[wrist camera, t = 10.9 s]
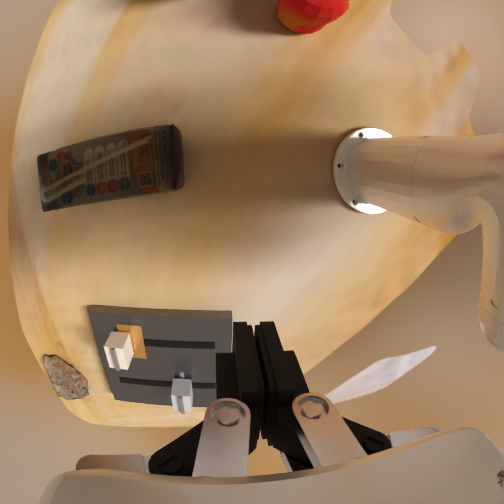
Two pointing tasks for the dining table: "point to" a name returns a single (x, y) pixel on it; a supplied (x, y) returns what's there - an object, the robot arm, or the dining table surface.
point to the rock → (65, 379)
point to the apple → (309, 13)
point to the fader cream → (119, 350)
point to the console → (164, 351)
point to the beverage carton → (112, 168)
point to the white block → (182, 395)
